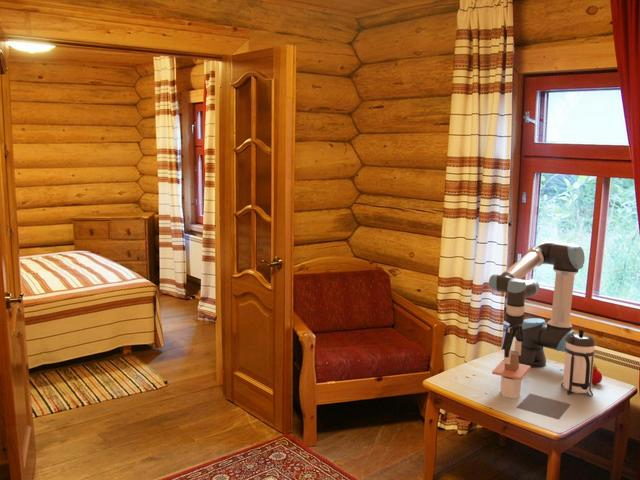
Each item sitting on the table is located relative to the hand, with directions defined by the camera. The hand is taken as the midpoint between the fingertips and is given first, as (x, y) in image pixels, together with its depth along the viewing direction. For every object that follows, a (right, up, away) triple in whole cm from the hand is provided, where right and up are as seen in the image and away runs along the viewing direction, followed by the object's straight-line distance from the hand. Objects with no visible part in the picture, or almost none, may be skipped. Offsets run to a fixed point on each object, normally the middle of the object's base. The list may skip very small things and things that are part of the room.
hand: (512, 359), depth 269 cm
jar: (0, -17, +3) cm, 18 cm away
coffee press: (+32, -17, +6) cm, 37 cm away
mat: (+11, -19, -9) cm, 24 cm away
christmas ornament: (+44, -15, +16) cm, 49 cm away
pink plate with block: (0, -6, +1) cm, 6 cm away
